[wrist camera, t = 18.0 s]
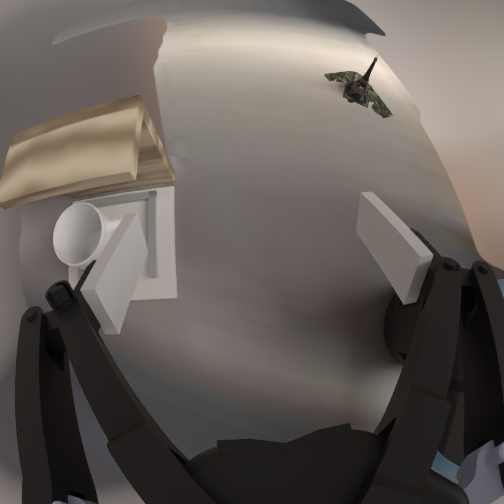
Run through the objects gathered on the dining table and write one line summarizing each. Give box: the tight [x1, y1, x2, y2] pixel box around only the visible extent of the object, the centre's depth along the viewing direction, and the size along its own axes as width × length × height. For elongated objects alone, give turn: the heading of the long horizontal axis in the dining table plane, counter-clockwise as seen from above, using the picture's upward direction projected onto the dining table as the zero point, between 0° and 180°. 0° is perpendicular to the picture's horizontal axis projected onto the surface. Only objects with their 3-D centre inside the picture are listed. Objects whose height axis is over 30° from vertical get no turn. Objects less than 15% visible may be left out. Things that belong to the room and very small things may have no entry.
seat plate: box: [69, 186, 178, 300], centre depth 41 cm, size 18×20×2 cm
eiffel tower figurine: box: [325, 57, 393, 118], centre depth 44 cm, size 15×10×13 cm
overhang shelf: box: [0, 95, 175, 209], centre depth 33 cm, size 10×20×20 cm, turn 95°
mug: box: [53, 202, 142, 270], centre depth 36 cm, size 9×12×11 cm
